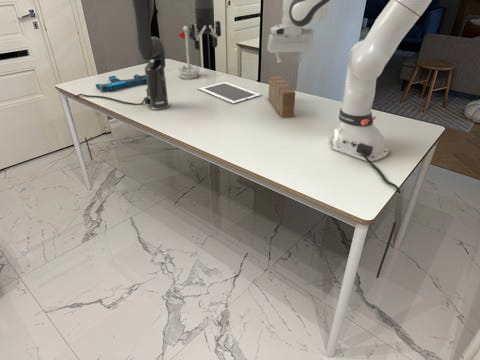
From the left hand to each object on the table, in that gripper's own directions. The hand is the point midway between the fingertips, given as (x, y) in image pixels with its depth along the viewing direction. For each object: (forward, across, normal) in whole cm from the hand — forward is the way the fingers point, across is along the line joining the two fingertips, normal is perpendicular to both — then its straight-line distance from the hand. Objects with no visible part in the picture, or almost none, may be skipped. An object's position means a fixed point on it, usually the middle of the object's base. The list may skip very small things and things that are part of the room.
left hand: (206, 48), depth 147 cm
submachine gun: (+31, +15, -75) cm, 83 cm away
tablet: (+31, -27, -23) cm, 48 cm away
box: (+31, -35, +11) cm, 49 cm away
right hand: (+6, -31, +20) cm, 37 cm away
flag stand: (+31, -24, -64) cm, 75 cm away
